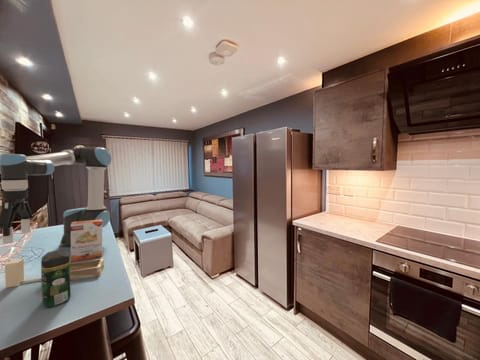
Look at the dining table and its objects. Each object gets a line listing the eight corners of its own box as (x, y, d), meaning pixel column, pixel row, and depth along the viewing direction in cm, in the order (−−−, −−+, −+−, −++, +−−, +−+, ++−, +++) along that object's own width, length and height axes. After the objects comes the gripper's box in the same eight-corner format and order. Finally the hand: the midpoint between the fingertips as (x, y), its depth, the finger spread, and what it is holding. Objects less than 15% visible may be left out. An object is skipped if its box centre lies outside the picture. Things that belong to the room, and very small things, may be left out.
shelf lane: (66, 271, 97) (66, 263, 97) (104, 265, 103) (103, 258, 103) (58, 282, 87) (58, 273, 87) (99, 275, 94) (99, 267, 94)
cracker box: (70, 262, 106) (69, 224, 105) (72, 258, 111) (71, 221, 110) (102, 256, 114) (102, 220, 113) (102, 253, 119) (102, 218, 118)
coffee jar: (41, 299, 76) (39, 252, 75) (68, 290, 82) (67, 246, 81) (43, 311, 70) (42, 260, 69) (72, 301, 76) (71, 253, 75)
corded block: (12, 281, 87) (12, 259, 87) (66, 273, 95) (66, 252, 95) (4, 289, 82) (3, 265, 81) (61, 279, 90) (61, 257, 89)
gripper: (19, 187, 95) (21, 230, 96) (-19, 193, 73) (-15, 250, 74) (40, 186, 98) (42, 228, 100) (10, 193, 76) (13, 246, 77)
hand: (17, 237), depth 87 cm, fingers open, 13 cm apart
